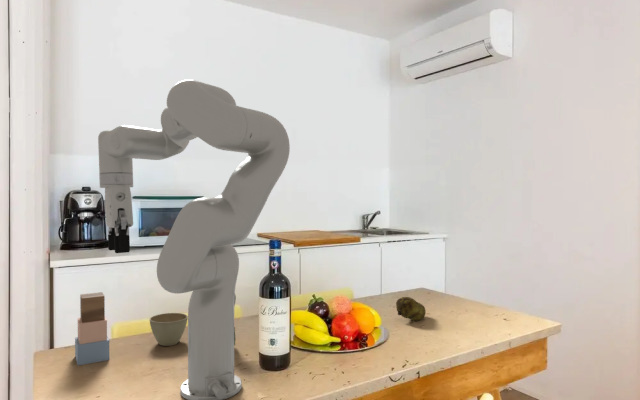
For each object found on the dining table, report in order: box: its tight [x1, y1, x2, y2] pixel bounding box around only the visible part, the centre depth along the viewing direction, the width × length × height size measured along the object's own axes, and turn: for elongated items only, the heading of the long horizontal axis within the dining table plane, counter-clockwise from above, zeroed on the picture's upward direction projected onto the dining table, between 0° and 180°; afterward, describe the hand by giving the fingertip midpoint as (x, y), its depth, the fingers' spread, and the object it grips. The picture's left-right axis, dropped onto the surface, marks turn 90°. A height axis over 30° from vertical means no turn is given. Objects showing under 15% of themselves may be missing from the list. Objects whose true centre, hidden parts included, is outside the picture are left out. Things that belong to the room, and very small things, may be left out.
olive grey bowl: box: [149, 312, 188, 347], centre depth 124 cm, size 10×10×7 cm
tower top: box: [77, 317, 108, 344], centre depth 113 cm, size 6×6×5 cm
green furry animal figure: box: [395, 296, 426, 322], centre depth 147 cm, size 8×13×8 cm, turn 119°
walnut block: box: [79, 291, 106, 323], centre depth 113 cm, size 5×5×6 cm
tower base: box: [74, 336, 110, 366], centre depth 113 cm, size 7×7×5 cm
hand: (118, 251), depth 110 cm, fingers open, 9 cm apart
